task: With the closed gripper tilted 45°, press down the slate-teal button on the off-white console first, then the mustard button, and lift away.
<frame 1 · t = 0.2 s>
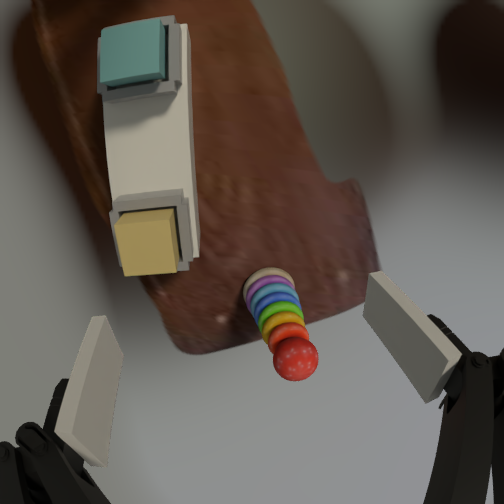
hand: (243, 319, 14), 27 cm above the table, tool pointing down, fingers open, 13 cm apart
teal button: (133, 53, 20), point 12 cm above the table, slide at 0.0 cm
mustard button: (148, 242, 27), point 12 cm above the table, slide at 0.0 cm
stacking toy: (267, 287, 46), on the table
button console: (158, 140, 35), on the table
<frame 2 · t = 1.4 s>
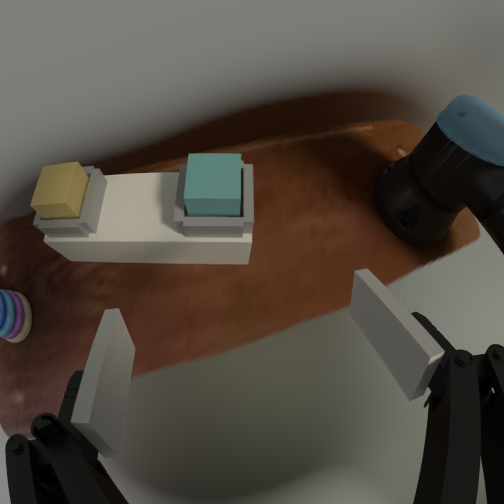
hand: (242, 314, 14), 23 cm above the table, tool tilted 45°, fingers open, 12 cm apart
teal button: (214, 184, 29), point 12 cm above the table, slide at 0.0 cm
mustard button: (59, 191, 28), point 12 cm above the table, slide at 0.0 cm
stacking toy: (17, 318, 34), on the table
button console: (154, 232, 40), on the table
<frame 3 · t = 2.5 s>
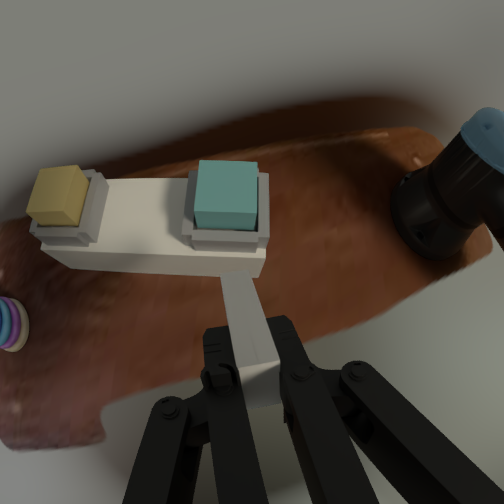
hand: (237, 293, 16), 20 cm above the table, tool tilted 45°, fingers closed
teal button: (226, 195, 27), point 12 cm above the table, slide at 0.0 cm
mustard button: (57, 196, 25), point 12 cm above the table, slide at 0.0 cm
stacking toy: (14, 326, 32), on the table
button console: (159, 240, 38), on the table
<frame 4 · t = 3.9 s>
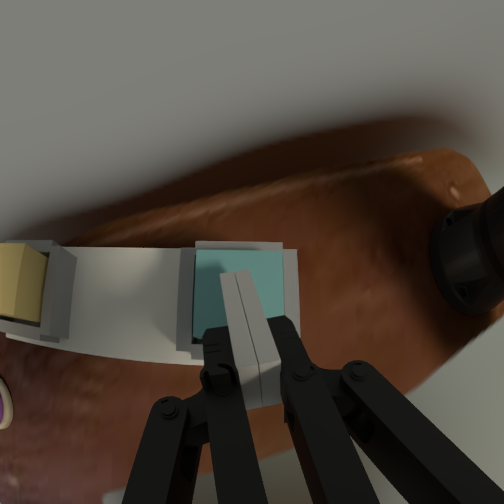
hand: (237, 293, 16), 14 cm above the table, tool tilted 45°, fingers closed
teal button: (238, 298, 19), point 11 cm above the table, slide at 0.8 cm, touching gripper
mustard button: (9, 282, 17), point 12 cm above the table, slide at 0.0 cm
button console: (150, 315, 29), on the table
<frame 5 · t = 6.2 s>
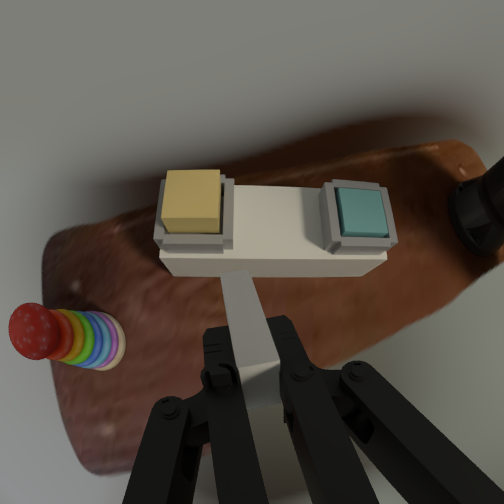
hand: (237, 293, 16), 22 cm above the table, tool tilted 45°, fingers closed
teal button: (358, 216, 32), point 10 cm above the table, slide at 2.5 cm, touching button console
mustard button: (193, 201, 29), point 12 cm above the table, slide at 0.0 cm
stacking toy: (102, 341, 35), on the table
button console: (270, 245, 41), on the table
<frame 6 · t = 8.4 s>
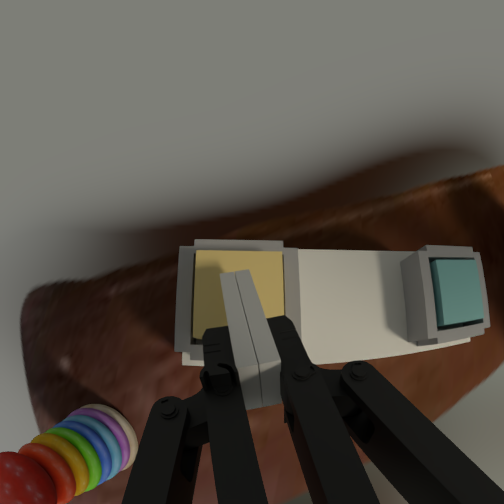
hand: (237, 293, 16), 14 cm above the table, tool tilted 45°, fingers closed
teal button: (449, 294, 21), point 10 cm above the table, slide at 2.5 cm, touching button console
mustard button: (238, 298, 19), point 11 cm above the table, slide at 1.2 cm, touching gripper
stacking toy: (106, 436, 24), on the table
button console: (323, 316, 30), on the table
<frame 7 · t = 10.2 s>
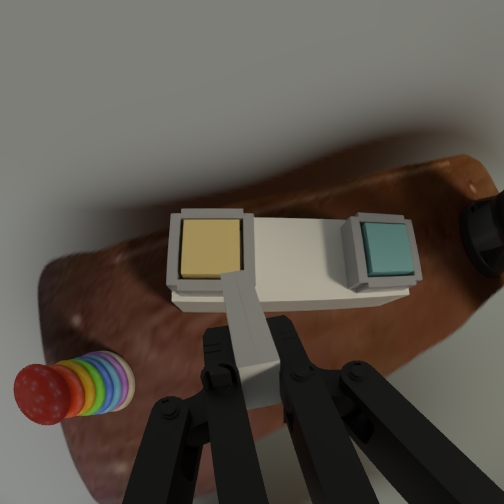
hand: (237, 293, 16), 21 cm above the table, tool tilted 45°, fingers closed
teal button: (382, 252, 30), point 10 cm above the table, slide at 2.5 cm, touching button console
mustard button: (211, 252, 28), point 10 cm above the table, slide at 2.5 cm, touching button console
stacking toy: (109, 380, 32), on the table
button console: (285, 276, 38), on the table
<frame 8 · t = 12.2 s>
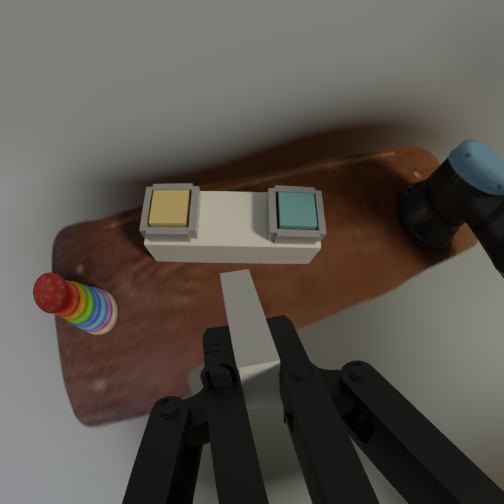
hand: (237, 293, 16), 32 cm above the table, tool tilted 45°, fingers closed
teal button: (295, 214, 43), point 10 cm above the table, slide at 2.5 cm, touching button console
mustard button: (171, 211, 42), point 10 cm above the table, slide at 2.5 cm, touching button console
stacking toy: (99, 312, 45), on the table
button console: (232, 237, 51), on the table
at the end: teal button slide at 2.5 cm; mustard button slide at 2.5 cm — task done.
